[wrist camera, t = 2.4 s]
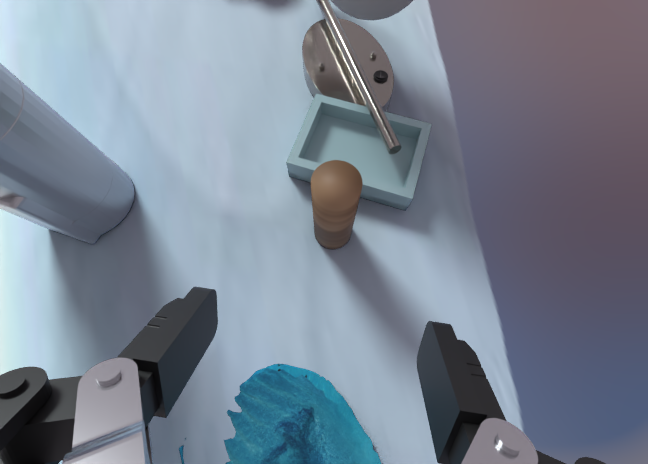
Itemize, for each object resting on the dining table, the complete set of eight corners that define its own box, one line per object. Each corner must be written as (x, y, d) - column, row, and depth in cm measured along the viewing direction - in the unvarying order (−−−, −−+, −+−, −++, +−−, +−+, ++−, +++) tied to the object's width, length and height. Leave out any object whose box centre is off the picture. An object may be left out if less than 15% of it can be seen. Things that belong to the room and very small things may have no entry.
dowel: (344, 254, 34) (354, 212, 23) (309, 242, 34) (303, 197, 24) (355, 221, 35) (368, 168, 25) (321, 210, 35) (320, 154, 25)
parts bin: (405, 210, 35) (412, 198, 32) (289, 176, 37) (286, 162, 34) (424, 140, 39) (432, 123, 36) (316, 111, 40) (316, 93, 37)
